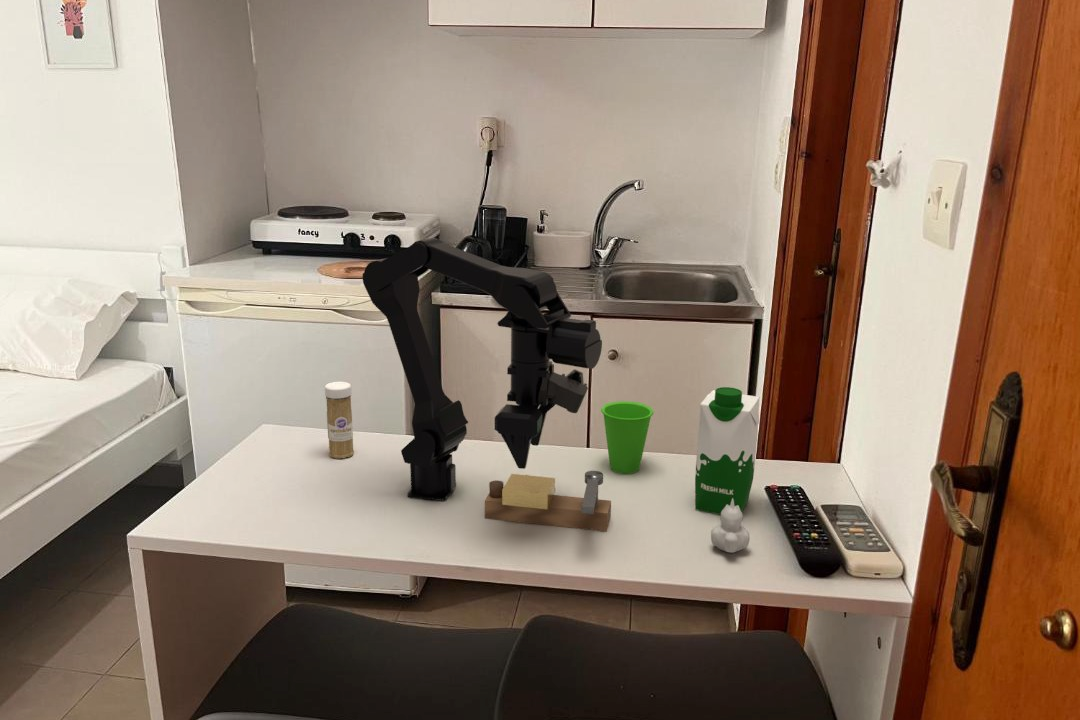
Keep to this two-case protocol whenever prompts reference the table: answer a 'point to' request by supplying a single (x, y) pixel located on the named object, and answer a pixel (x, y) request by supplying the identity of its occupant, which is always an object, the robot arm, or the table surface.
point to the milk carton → (726, 449)
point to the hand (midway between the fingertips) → (528, 456)
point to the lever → (591, 490)
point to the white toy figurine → (730, 530)
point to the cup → (626, 434)
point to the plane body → (549, 511)
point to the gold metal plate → (528, 491)
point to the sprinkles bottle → (339, 419)
